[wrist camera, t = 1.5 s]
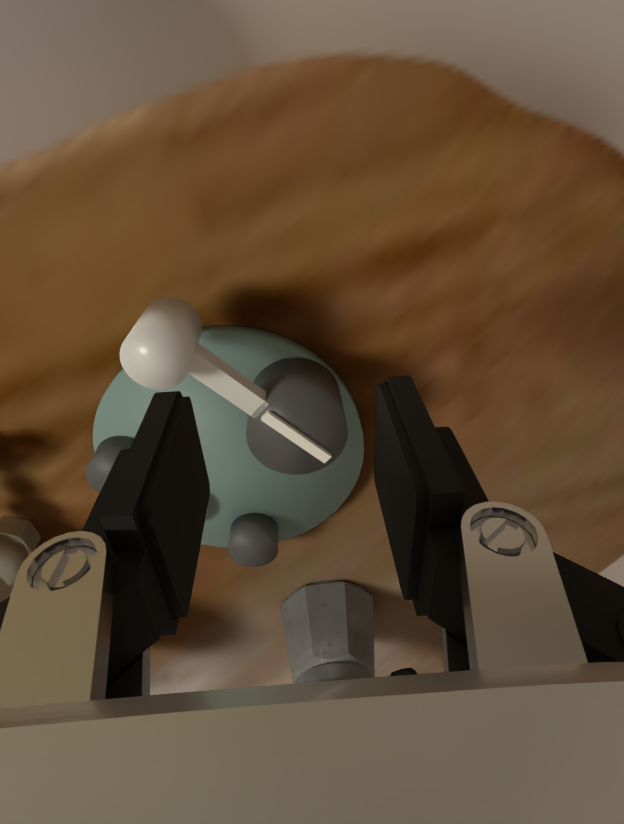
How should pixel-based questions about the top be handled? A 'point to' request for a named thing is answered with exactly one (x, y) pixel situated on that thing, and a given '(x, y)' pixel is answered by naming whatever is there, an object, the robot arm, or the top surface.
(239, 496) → the instrument base
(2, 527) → the valve
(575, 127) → the top surface
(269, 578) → the top surface
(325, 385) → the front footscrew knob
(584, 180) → the top surface
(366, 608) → the coffeepot
